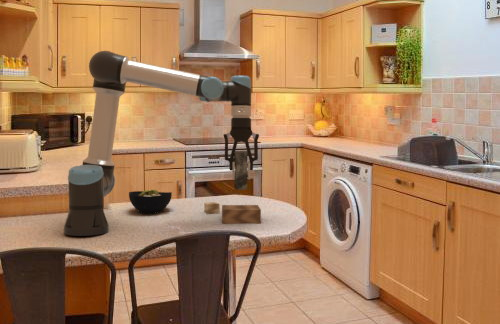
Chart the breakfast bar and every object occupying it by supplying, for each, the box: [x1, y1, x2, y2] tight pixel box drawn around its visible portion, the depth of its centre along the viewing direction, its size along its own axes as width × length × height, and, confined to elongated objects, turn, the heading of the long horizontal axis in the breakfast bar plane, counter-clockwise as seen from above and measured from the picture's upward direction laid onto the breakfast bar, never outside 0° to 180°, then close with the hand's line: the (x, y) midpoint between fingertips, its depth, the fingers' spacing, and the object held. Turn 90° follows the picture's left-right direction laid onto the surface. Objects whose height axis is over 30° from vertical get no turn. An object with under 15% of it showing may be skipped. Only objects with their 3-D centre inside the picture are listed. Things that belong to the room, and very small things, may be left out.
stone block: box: [233, 150, 248, 191], centre depth 205 cm, size 9×14×5 cm
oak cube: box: [203, 201, 221, 215], centre depth 219 cm, size 5×5×5 cm
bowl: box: [128, 189, 173, 215], centre depth 221 cm, size 17×17×10 cm
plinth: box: [221, 204, 262, 225], centre depth 206 cm, size 14×14×5 cm
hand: (241, 179), depth 205 cm, fingers closed on stone block, 5 cm apart
